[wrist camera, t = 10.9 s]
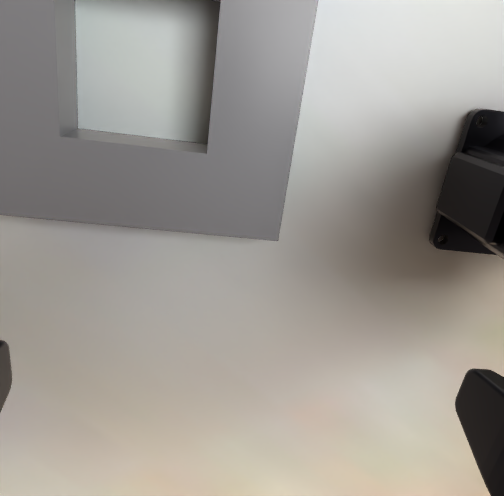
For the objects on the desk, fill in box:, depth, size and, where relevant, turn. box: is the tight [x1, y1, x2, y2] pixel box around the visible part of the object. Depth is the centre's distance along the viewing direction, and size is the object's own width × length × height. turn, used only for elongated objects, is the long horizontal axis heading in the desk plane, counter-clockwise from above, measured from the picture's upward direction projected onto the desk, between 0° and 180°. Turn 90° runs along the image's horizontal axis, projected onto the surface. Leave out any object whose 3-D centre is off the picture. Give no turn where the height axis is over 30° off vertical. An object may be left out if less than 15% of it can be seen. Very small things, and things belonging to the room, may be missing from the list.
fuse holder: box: [0, 0, 318, 241], centre depth 16 cm, size 12×12×2 cm
